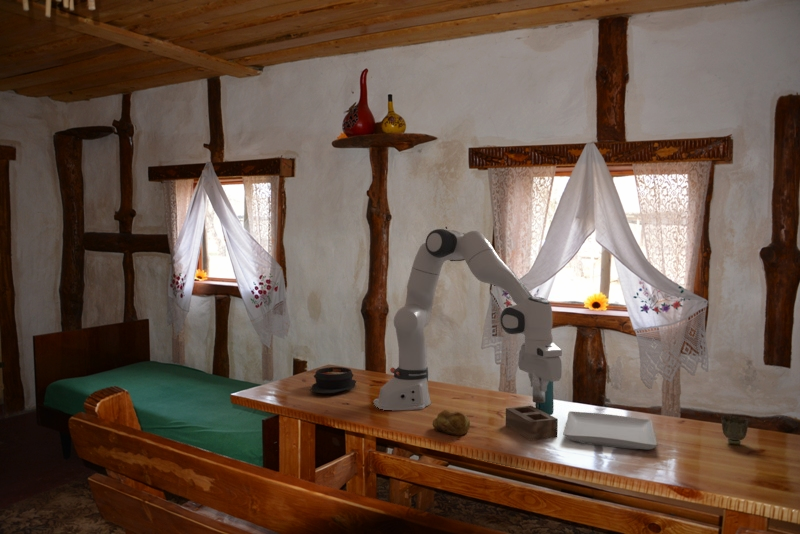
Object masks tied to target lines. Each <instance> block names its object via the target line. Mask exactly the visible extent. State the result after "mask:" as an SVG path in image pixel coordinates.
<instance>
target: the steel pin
mask: <svg viewBox="0 0 800 534" xmlns="http://www.w3.org/2000/svg"><path fill="white" fill-rule="evenodd" d="M532 377H533V387H532V402H533V403H534V404H535V403H544V402H545V392H543V391H540V385H541V384H542V381H541V378H540V377H538V376H536V375H535V372H533V374H532Z"/></svg>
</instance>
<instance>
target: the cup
mask: <svg viewBox="0 0 800 534" xmlns="http://www.w3.org/2000/svg"><path fill="white" fill-rule="evenodd" d="M720 418H721V419H720V420H721V429H722V433H723V435H724V437H725V438H727V442H728V443H727V444H730V445H732V446H740V445H741V444H742V441H743V440H744V439H745V438H746V437H747V433H748V427H749V420H748V419H747V418H744V417H739V416H738V415H736V416H735V415H733V416H731V415H728V416H727V415H723V416H722V415H721V417H720Z"/></svg>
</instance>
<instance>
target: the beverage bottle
mask: <svg viewBox="0 0 800 534" xmlns="http://www.w3.org/2000/svg"><path fill="white" fill-rule="evenodd" d="M534 404H535V406H534V407H535V408H537V409H539V410H541V411H543V412H545V413H547V414H549V415H551V416H553V414H554V406H555V404H554V382H551V381H549V383H548V385H547V391H545V402H544V403H535V402H534Z"/></svg>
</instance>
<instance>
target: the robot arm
mask: <svg viewBox="0 0 800 534" xmlns="http://www.w3.org/2000/svg"><path fill="white" fill-rule="evenodd" d="M446 261H450V262H461V261H465V263H466V265H467V267H468V269H469V270H470V273H472V275H473V276H474V277H475V279H477V280H478V281H480V282H482V283H484V284H489V285H493V286H496V287H499V288H500V289H503V290H504V291H505V292H507V293H508V294H509V297H510V298H511V299H512V301H513V302H514V303H515V304H514V305H511V306H507V307H505V308H504V309H503V310H502V312H501V314H500V317H499V318H500V319H499V321H500V325H501V328H502V329H503V331H504V332H505V333H507V334H509V335H523V334H524V343H522V345H521V346H520V350H519V352H518V369H519V371H523V372H526V373H528V378H529V381H530V387H531V388H533V377H532V374H533V372H535V375H536V376H538V377H540V378H541V381H542V384H541V385H540V391H543V392H545V391H547V385H548V383H549V381H551V382H553V383H554V382H560V381H561V379H562V375H563V374H562V372H563V371H562V369H563V367H562V365H563V364H562V359H561V357H562V355H563V350H562V349H561V348H560V347H558V346H557V345H556V344H555V342H554V341H553V334H552V329H553V324H554V323H553V320H554V319H553V308H552V305H551V302H550V301H549V300H548V299H546V298H544V297H540V296H538V297H537V296H533V294H531V292H530V291H529V290H528V289H527V287H526V286H525V284H524V283H523V281H522V280H521V279H520V278H519V277H518V275H517V274H516V273H515V272H514V271H513V270H512V269H511V268H510V267H509V266H508V265H506V263H505V262H504V261H503V260H502V259H501V258H500V255H499V254H498V253H497V251H496V250H495V248H494V246H493V245H492V244H491V242H490V241H489V240H488V239H487V238H486V236H485V235H484V234H483V233H482V232H480V231H478V230H470V231H468V232H466V233H463V232H460V231H457V230H448V229H444V228H437V229H433V230H432V231H430V232H429V233H428V234H427V236H426V239H425V243H422V244H421V245H420V247H419V248H418V251H417V253H416V254H415V258H414V261H413V264H412V266H411V269H410V270H411V271H410V275H409V278H408V281H407V285H406V297H405V303H404V306H402V307H400V308H399V309H398V310H397V312H396V313H395V315H394V318H393V326H394V328H395V333H396V339H397V345H398V366H397V368H395V367H391V368H390V369H389V370H390V371H389V372H390V373H392V374H393V377H392V378H391V379H390V380H389V381H387V382H386V383H385V384H384V385H382V386H381V387H380V389H379V390H380V391H379V395H378V398H375V399H374V400H373V401H372V402H373V403H374V404H373V403H372V404H373V405H375V406H376V407H375V406H374V407H375V408H377V407H378V408H379V409H378V408H377V409H378V410H380V409H383V410H382V411H384V410H392V411H410V410H411V411H413V410H424V409H425V407H427V406H430V405H431V404H432V400H431V398H430V394H429V387H428V380H429V367H428V365H427V364H428V359H427V358H428V348H427V347H428V346H427V344H426V340H425V332H424V331H425V328H426V327H427V326H428V324H429V323H430V320H431V316H432V315H431V314H432V310H433V305H434V300H435V299H434V296H435V292H436V291H437V286H438V283H439V278H440V275H441V271H442V267H443V265H444V263H446Z"/></svg>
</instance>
